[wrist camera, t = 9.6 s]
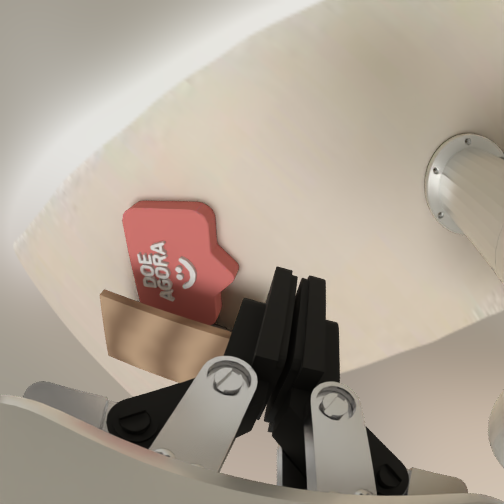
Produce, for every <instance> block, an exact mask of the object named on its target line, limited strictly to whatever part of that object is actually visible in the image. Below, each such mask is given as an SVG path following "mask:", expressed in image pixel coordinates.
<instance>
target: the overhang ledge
mask: <svg viewBox="0 0 504 504" xmlns="http://www.w3.org/2000/svg"><path fill="white" fill-rule="evenodd" d="M100 302H101V310H102V317H103V325H104V331H105V338H106V344H107V350H108V355H109V356H111V357H113V358H116V359H118V360H120V361H123V362H125V363H128V364H130V365H133V366H135V367H138V368H140V369H143V370H145V371H148V372H151V373H153V374H156V375H159V376H161V377H164V378H167V379H170V380H173V381H175V382H178V383H181V382H184V381H187V380H190V379H193V378H196V376H197V375H198V373H199V372H200V370H201V369H202V367H203V366H204V365H205V364H206V362H207V361H209V360H211V359H213V358H215V357H219V356H224V353H225V350H226V347H227V344H228V342H229V339H230V336H231V333H232V332H230V331H227V328H225V327H221V326H218V325H215V324H212V325H207V324H203V323H200V322H197V321H194V320H191V319H188V318H185V317H181V316H178V315H175V314H172V313H169V312H166V311H163V310H160V309H157V308H155V307H152V306H149V305H146V304H143V303H140V302H137V301H135V300H132V299H129V298H126V297H124V296H121V295H118V294H115V293H113V292H110V291H107V290H105V289H104V290H103V292H102V293H101V294H100Z"/></svg>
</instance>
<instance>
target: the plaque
mask: <svg viewBox="0 0 504 504" xmlns="http://www.w3.org/2000/svg"><path fill="white" fill-rule="evenodd" d="M122 221H123V227H124V232H125V237H126V242H127V247H128V252H129V256H130V261H131V265H132V270H133V274H134V278H135V283H136V287H137V291H138V295H139V299H140V303H143V304H146V305H149V306H152V307H155V308H157V309H160V310H163V311H166V312H169V313H172V314H175V315H178V316H181V317H185V318H188V319H191V320H194V321H197V322H200V323H203V324H207V325H212V324H214V323H215V322H216V320H217V318H218V315H219V313H220V311H221V308H222V301H221V291H222V290H224V289H225V288H226V287H227V286H228V285H230V284H231V283H232V282H233V281H234V279H235V276H236V274H237V272H238V269H239V265H238V263H237V262H236V261H235V260H234V259H233V258H232V257H231V256H230V255H228V254H227V253H226V252H225V251H224V250H223V249H222V248H221V247H220V246H219V245H218V243H217V236H216V222H215V215H214V212H213V210H212V209H211V208H210V207H209V206H208V205H206V204H204V203H201V202H188V201H139V202H137V203H136V204H135V205H133V206H132V207H131V208H129V209H128V210H126V211H125V213H124V214H123V219H122Z"/></svg>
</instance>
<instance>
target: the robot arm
mask: <svg viewBox="0 0 504 504" xmlns="http://www.w3.org/2000/svg"><path fill="white" fill-rule="evenodd" d="M465 140H466V142H465ZM434 168H435V170H434V171H433V169H434ZM425 195H426V200H427V204H428V207H429V209H430V211H431V213H432V215H433V216H434V217H435V219H436V220H437V221H438V222H439V223H440V224H441V225H442V226H443V227H444V228H446V229H447V230H449V231H451V232H453V233H456V234H461V235H466V236H467V237H468V239H469V240H470V241H471V242H472V244H473V245H474V246H475V247H476V249H477V250H478V251H479V252H480V254H481V255H482V256H483V258H484V259H485V260H486V261H487V263H488V264H489V265H490V267H491V268H492V269H493V271H494V272H495V274H496V275H497V276H498V278H499V279H500V280H501V281H502V283H503V284H504V153H503V152H502V150H501V149H500V148H499V147H498V146H497V145H496V144H495V143H494V142H493V141H491V140H490V139H488V138H486V137H483V136H481V135H477V134H468V133H466V134H461V135H457V136H455V137H452V138H450V139H449V140H447V141H446V142H445V143H443V144H442V145H441V146H440V147H439V148H438V150H437V151H436V152H435V154H434V155H433V157H432V159H431V161H430V163H429V166H428V168H427V172H426V177H425ZM439 212H440V213H439ZM438 213H439V214H438ZM297 278H298V277H297V276H294V275H292V270H288V269H284V268H281V267H276V270H275V274H274V277H273V280H272V284H271V287H270V290H269V294H268V297H267V300H266V303H261V302H257V301H254V300H250V299H247V298H244V299H243V302H242V304H241V307H240V310H239V313H238V316H237V319H236V322H235V324H234V327H233V330H232V333H231V336H230V339H229V342H228V344H227V347H226V350H225V353H224V356H219V357H215V358H213V359H211V360H209V361H207V362H206V364H205V365H204V366H203V367H202V369H201V370H200V372H199V373H198V375H197V376H196V378H193V379H190V380H187V381H184V382H181V383H178V384H175V385H172V386H169V387H165V388H162V389H159V390H156V391H152V392H149V393H146V394H142V395H139V396H135V397H132V398H128V399H125V400H122V401H120V402H113V401H109V400H108V398H107V397H104V396H100V395H95V394H91V393H87V392H83V391H79V390H76V389H72V388H68V387H65V386H61V385H57V384H54V383H51V382H45V381H41V382H36V383H34V384H32V385H31V386H29V387H28V388H27V390H26V391H25V393H24V395H23V397H19V396H12V395H5V394H0V504H504V502H503V501H501V500H499V499H496V498H493V497H490V496H487V495H482V494H474V493H472V494H471V493H468V489H467V487H466V485H465V483H464V482H463V481H462V480H461V479H458V478H456V477H451V476H447V475H442V474H437V473H433V472H429V471H425V470H421V469H417V468H413V467H412V468H411V469H406V467H405V466H404V465H403V463H402V462H401V461H400V460H399V459H398V458H397V457H396V456H395V455H394V454H393V453H392V452H391V451H390V450H389V449H388V448H387V447H386V446H385V445H384V444H383V443H382V442H381V441H380V440H379V439H378V438H377V437H376V436H375V435H374V434H373V433H372V432H371V431H370V430H369V429H368V428H367V427H366V426H365V421H364V416H363V412H362V407H361V403H360V400H359V397H358V396H357V395H356V394H355V392H354V391H353V390H352V389H350V388H349V387H348V386H346V385H344V384H342V383H340V363H339V327H338V323H337V322H333V321H329V320H326V281H325V280H324V279H321V278H317V277H314V276H309V277H308V279H304V278H302V279H301V282H300V285H299V287H298V290H297V293H296V286H297ZM295 294H296V296H295ZM266 405H267V407H266ZM265 407H266V412H265V417H264V421H265V422H269V428H268V432H272V436H273V438H274V439H275V440H276V441H277V443H278V447H277V485H272V484H266V483H262V482H256V481H252V480H247V479H243V478H239V477H234V476H231V475H227V474H223V473H219V472H220V470H221V468H222V466H223V464H224V462H225V460H226V458H227V456H228V454H229V452H230V450H231V448H232V445H233V443H234V441H235V439H236V438H237V437H239V436H241V435H243V434H245V433H248V432H249V431H251V430H252V428H253V425H254V423H255V421H256V419H257V420H259V419H260V417H261V415H262V413H263V411H264V409H265ZM488 436H489V442H490V446H491V448H492V451H493V453H494V455H495V457H496V459H497V460H498V462H499V463H500V464H501V466H502V467H503V468H504V390H503V391H502V392H501V394H500V396H499V397H498V399H497V400H496V402H495V404H494V406H493V409H492V412H491V414H490V418H489V423H488Z"/></svg>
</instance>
